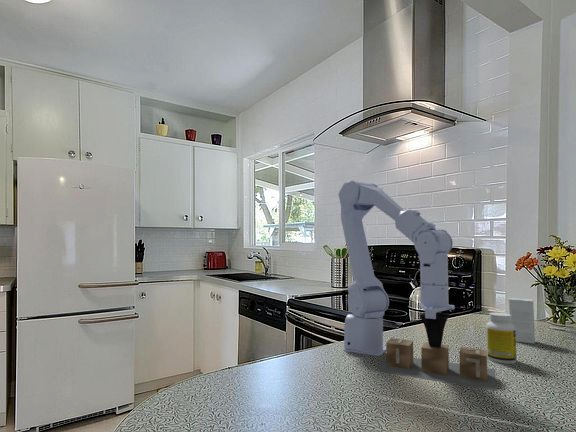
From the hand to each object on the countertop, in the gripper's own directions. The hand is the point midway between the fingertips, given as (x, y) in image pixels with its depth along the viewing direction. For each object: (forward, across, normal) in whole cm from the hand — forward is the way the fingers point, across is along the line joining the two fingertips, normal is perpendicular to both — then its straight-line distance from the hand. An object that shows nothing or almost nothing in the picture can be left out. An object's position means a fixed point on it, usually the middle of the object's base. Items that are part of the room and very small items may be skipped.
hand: (435, 347), depth 83 cm
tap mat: (+5, 0, 0) cm, 5 cm away
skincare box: (+5, +41, -19) cm, 45 cm away
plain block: (+5, 0, 0) cm, 5 cm away
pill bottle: (+5, +16, -13) cm, 21 cm away
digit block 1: (+5, 0, +8) cm, 9 cm away
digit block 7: (+5, 0, -7) cm, 9 cm away
